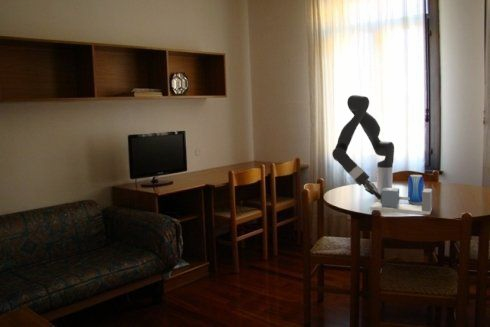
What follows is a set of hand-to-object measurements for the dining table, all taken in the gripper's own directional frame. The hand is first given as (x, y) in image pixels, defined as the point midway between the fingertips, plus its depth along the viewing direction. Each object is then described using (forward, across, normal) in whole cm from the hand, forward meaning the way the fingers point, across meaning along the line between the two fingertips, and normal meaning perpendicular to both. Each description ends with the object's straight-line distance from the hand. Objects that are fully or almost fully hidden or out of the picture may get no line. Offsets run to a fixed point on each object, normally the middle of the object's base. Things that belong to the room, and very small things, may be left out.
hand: (380, 198), depth 252 cm
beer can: (+15, +19, -7) cm, 25 cm away
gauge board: (+12, 0, -4) cm, 12 cm away
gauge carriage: (+8, -1, -3) cm, 9 cm away
